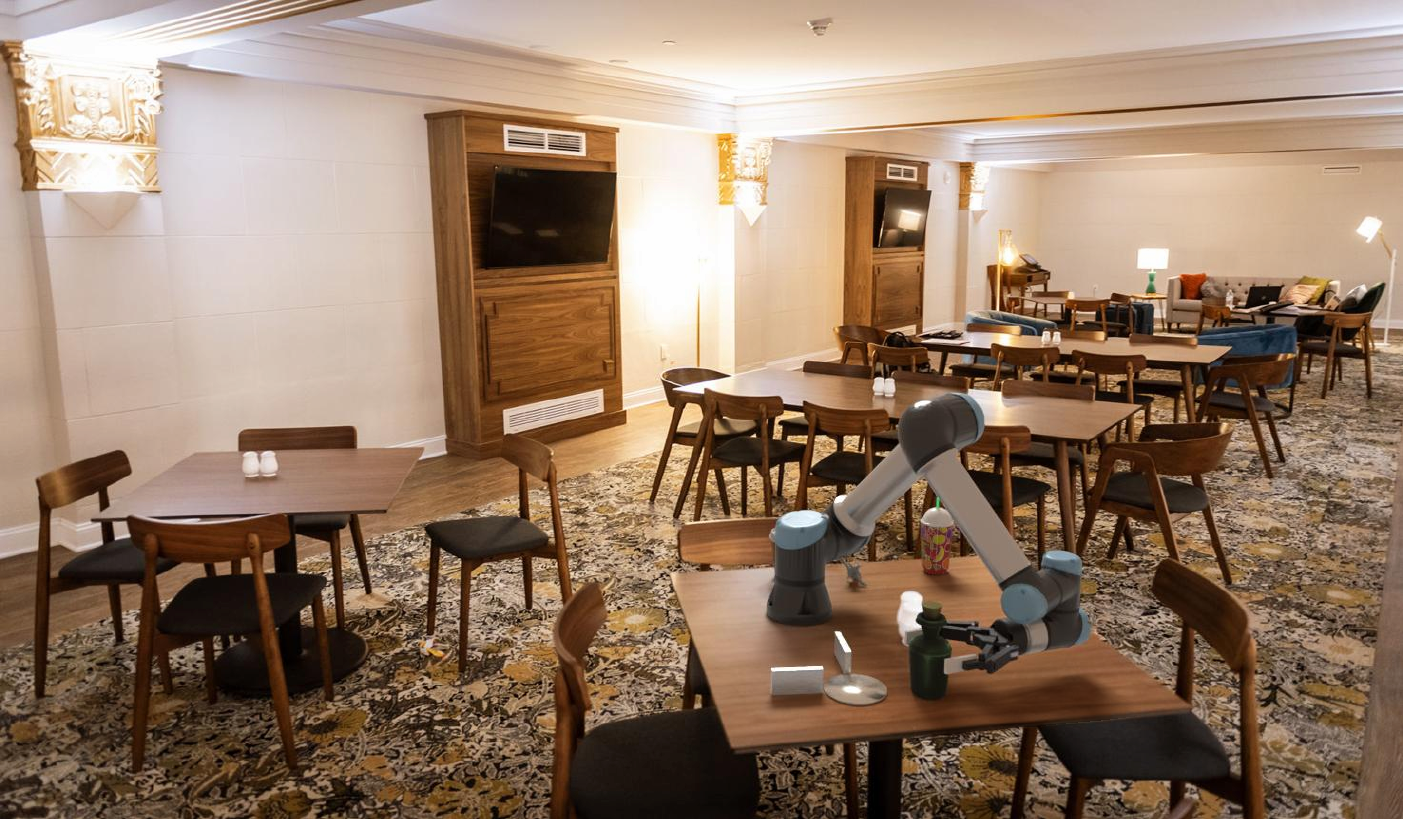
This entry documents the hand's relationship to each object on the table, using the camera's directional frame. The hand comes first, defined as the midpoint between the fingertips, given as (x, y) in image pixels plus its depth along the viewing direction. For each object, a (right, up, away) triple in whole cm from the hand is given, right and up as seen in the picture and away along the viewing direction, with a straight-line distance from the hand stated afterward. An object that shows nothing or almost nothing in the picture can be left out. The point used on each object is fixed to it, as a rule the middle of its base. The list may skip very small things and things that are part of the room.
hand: (924, 651), depth 183 cm
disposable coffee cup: (-20, +3, +66) cm, 69 cm away
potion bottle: (+1, -9, +2) cm, 9 cm away
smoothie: (+19, +4, +69) cm, 71 cm away
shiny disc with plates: (-15, -8, +6) cm, 18 cm away
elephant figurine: (-4, +2, +62) cm, 62 cm away
